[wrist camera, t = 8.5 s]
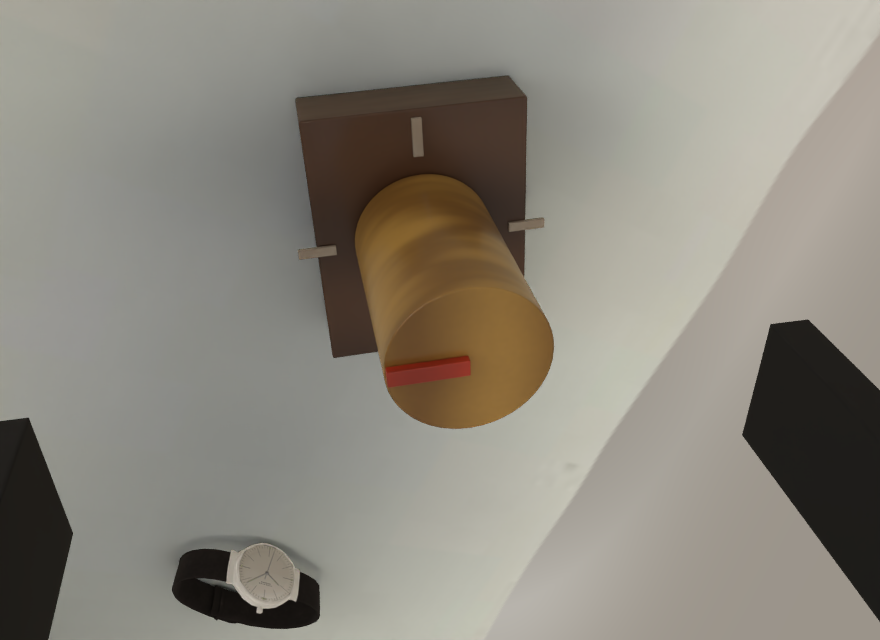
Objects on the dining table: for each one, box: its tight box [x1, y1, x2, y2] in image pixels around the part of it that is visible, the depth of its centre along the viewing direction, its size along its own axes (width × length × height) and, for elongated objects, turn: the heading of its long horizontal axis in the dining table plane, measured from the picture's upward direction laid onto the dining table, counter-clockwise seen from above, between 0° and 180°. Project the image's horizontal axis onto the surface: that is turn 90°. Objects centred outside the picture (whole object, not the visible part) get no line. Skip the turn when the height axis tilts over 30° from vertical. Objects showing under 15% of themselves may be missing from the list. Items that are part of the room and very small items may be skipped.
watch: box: [172, 543, 320, 629], centre depth 41 cm, size 8×5×4 cm, turn 56°
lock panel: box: [295, 76, 544, 358], centre depth 32 cm, size 10×9×3 cm
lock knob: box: [355, 174, 554, 429], centre depth 28 cm, size 5×5×8 cm
